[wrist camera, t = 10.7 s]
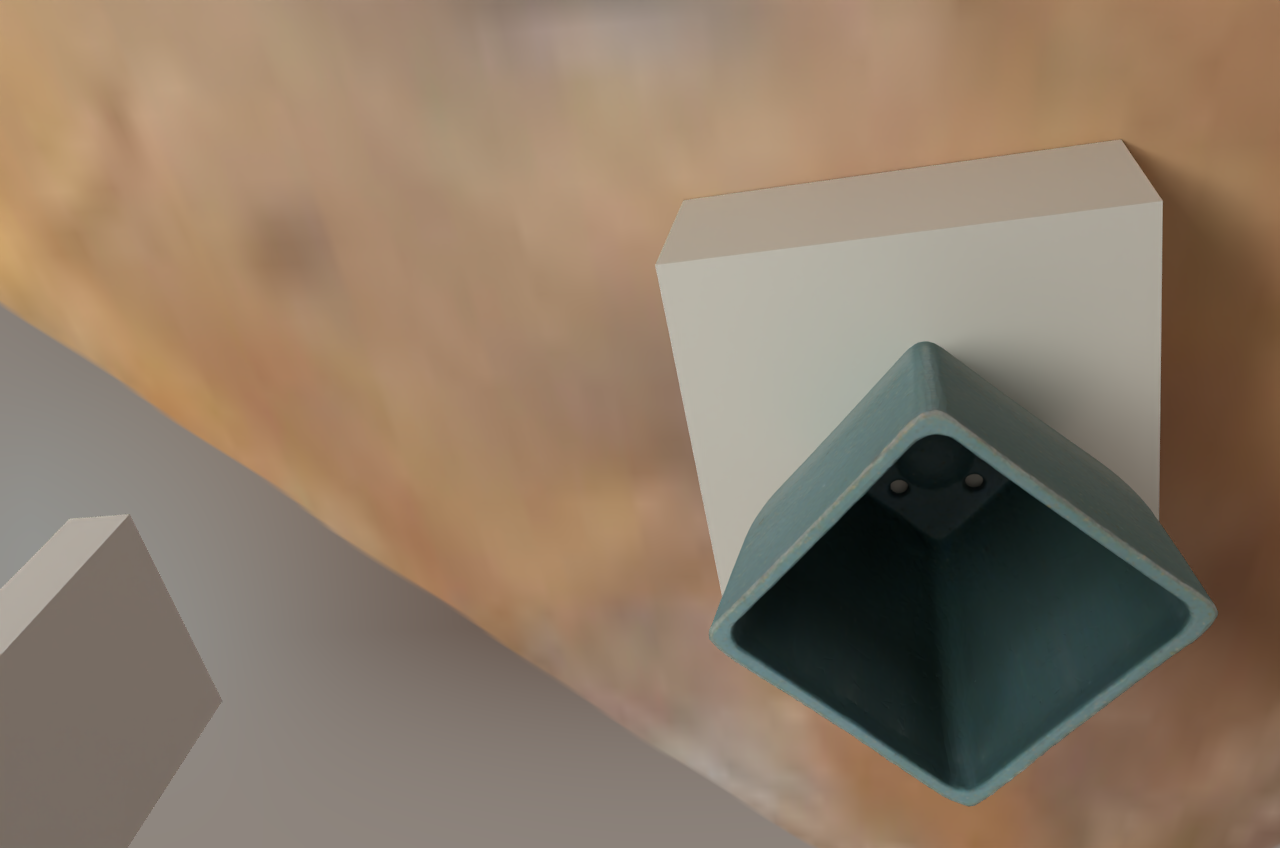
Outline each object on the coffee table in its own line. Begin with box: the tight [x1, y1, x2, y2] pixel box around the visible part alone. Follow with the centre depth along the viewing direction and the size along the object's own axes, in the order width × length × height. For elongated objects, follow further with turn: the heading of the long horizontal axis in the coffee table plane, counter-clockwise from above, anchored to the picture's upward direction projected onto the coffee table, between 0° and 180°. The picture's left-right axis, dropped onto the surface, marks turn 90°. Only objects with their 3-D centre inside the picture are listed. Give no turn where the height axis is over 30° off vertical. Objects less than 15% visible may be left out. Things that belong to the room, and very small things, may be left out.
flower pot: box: [709, 341, 1218, 806], centre depth 32 cm, size 9×9×9 cm
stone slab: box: [655, 139, 1163, 596], centre depth 38 cm, size 14×14×6 cm
